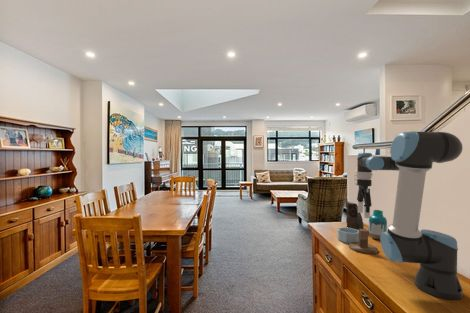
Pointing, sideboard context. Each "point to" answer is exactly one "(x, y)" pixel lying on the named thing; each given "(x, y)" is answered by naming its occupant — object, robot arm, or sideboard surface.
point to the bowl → (347, 235)
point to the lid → (363, 244)
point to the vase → (377, 224)
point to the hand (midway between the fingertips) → (363, 215)
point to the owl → (353, 216)
